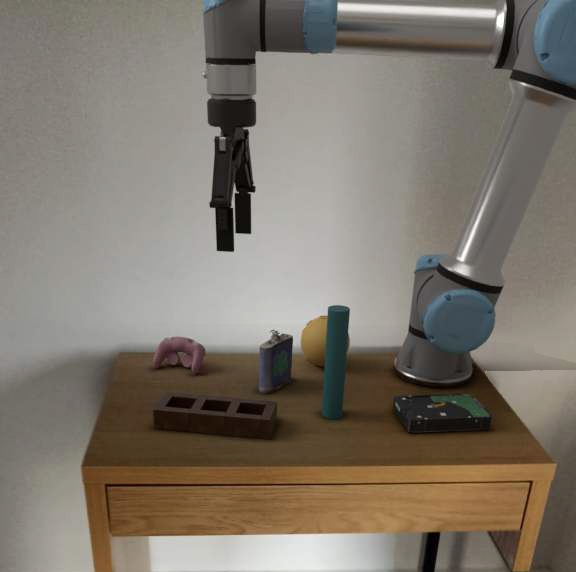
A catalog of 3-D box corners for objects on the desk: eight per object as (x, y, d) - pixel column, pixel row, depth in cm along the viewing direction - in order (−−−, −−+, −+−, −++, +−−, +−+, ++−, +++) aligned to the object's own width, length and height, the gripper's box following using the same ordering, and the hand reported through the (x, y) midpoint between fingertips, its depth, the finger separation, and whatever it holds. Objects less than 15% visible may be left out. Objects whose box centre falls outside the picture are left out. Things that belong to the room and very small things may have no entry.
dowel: (342, 411, 134) (350, 305, 124) (341, 420, 131) (349, 312, 121) (322, 409, 134) (329, 304, 124) (320, 418, 131) (326, 310, 121)
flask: (266, 395, 139) (267, 338, 133) (254, 391, 140) (254, 335, 135) (294, 380, 145) (296, 326, 140) (281, 376, 147) (283, 323, 141)
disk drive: (408, 435, 127) (491, 430, 129) (410, 420, 125) (494, 415, 127) (391, 409, 135) (469, 405, 137) (392, 395, 134) (471, 391, 136)
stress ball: (353, 372, 150) (357, 323, 144) (305, 375, 148) (307, 325, 143) (340, 355, 158) (344, 308, 153) (295, 357, 156) (296, 309, 151)
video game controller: (204, 377, 149) (209, 341, 149) (195, 374, 145) (201, 338, 144) (159, 370, 152) (164, 335, 151) (149, 367, 147) (154, 331, 147)
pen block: (276, 420, 130) (277, 401, 128) (269, 439, 123) (269, 420, 122) (166, 410, 132) (165, 391, 130) (154, 428, 125) (152, 409, 124)
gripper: (226, 92, 125) (229, 225, 137) (185, 101, 104) (193, 258, 116) (270, 93, 124) (270, 227, 136) (237, 103, 103) (240, 260, 115)
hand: (234, 242), depth 126 cm, fingers open, 13 cm apart
